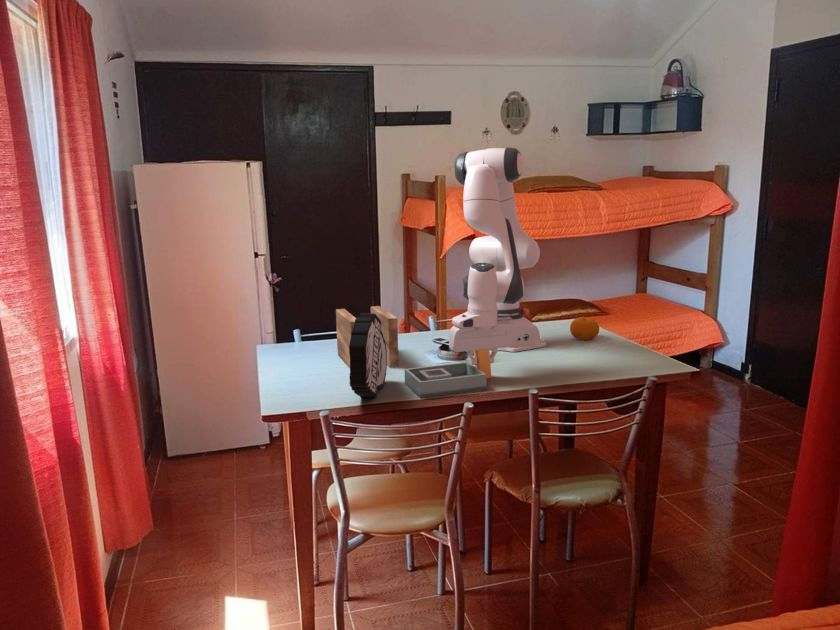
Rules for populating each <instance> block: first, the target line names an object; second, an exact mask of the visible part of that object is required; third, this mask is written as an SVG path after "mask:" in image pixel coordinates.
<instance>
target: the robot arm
mask: <svg viewBox="0 0 840 630" xmlns="http://www.w3.org/2000/svg"><path fill="white" fill-rule="evenodd" d="M453 165H454V166H453V172H454V177H455V179H456V180H457V182H458V183H459V184H460V185H463V196H462V197H463V198H462V199H463V200H462V202H463V204H462V208H463V209H462V210H463V217H464V220H465V222H466V224H467V225H468V226H469V227H471V228H472V229H473V230H475V231H477V232H479V233H481V234H485V236H484V235H483V236H479V237H476V238H474V239H473V240H472V241H471V243H470V245H469V248H468V249H469V251H468V253H469V254H468V255H469V258H470V260H471V262H472V263H473V264H471V265H470V267H469V270H468V273H467V274H466V275H465V276H464V278H463V279H462V283H463V294H462V296H463V298H464V299H466V300H467V301H468V305H467V311H465V312H463V313H461V314H458V315H456V316H454V317H452V318H451V323H452V325H453V326H452V327H451V328H450V329H449V336H448V347H449V350H451V351H452V352H454V353H462V352H466V354H467V355H468V358H469V359H470V364H471V365H473V366H475V365H477V359H476V358H474V350H483V349H489V350H490V351H491V353H490V364H494V363H495V357H496V355H497V353H498V351H505V352H511V353H517V352H522V351H527V350H532V349H539V348H544V347H547V342H546V340H544V339H542V338H541V334H540V330H539V328H538V327H537V326H536V324H534V323H532V322H531V321H530V320H529V319H527V318H526V317H525V316H524V315H529V313H530V309H528V308H526V307H524V308H523V307H521V305H520V300H521V299H522V298H523V297H524V293H525V283H524V279H523V277H522V275H521V274H522V273H521V270H523V269H530V268H533V267H535V265H537V263H538V262H539V259H540V257H541V256H540V255H541V249H540V247H539V244H538V242H537V241H536V240H535V239H533V238H532V237H531V236H530V235H529V234H527V232H526V230H524V228H523V226H522V224H521V223H520V220H519V217H518V212H517V206H516V205H517V204H516V199H515V188H514V183H513V182H515V181H517V180H519V178H520V177H521V176H522V172H523V169H524V160H523V157H522V153H521V152H520V151H519V150H518V149H517V148H515V147H510V146H509V147H492V148H491V147H489V148H485V149H478V150H473V151H465V152H461V153H459V154H458V155H457V156H456V158H455V159H454V164H453Z"/></svg>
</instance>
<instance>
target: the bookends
mask: <svg viewBox="0 0 840 630" xmlns="http://www.w3.org/2000/svg"><path fill="white" fill-rule="evenodd" d="M370 314H376V316H377V317H378V318H379V319H380V321H381V331H382V334H383V337H384V340H385V343H386V349H387V367H388V368H398V367H399V337H398V336H399V333H398V331H399V330H398V327H399V326H398V317H397V316H395V315H393V314H392V313H390V312H389V311H387V310H386V309H385V308H384V307H382V306H380V305H375V306H373V305H372V306H370ZM355 319H356V317H355V316H353V314H352V313H350V312H349V311H348V310H346V308H337V309H335V325H336V345H337V356H338V357H339V359H341V360H342V361H343V362H344V364H345V365H346V366H347V368H349V369H350V355H349V344H350V339H351V333H352V328H353V325H354V323H355Z"/></svg>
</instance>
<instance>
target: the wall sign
mask: <svg viewBox="0 0 840 630" xmlns="http://www.w3.org/2000/svg"><path fill="white" fill-rule="evenodd" d="M355 318H356V319H355V323H354V325H353V328H352V333H351V339H350V344H349V355H350V368H349V386H350V387H351V391H353V393H354V394H355V395H357V396H358V397H359V398H363V399H377V395H378V391H379V390H380V389H382V388H383V387H384V386H385V382H386V377H387V375H386V374H387V367H388V366H387V349H386V343H385V340H384V337H383V334H382V331H381V321H380V319H379V318H378V317H377V316H376V314H371V313H365V312H364V313H359V316H356V317H355Z"/></svg>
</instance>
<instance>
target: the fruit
mask: <svg viewBox="0 0 840 630" xmlns="http://www.w3.org/2000/svg"><path fill="white" fill-rule="evenodd" d="M569 332H570V333H571V335H572V337H574V338H575V339H577V340H582V341H590V340H593V339H595V338H596V337H597V336H598V334H599V333H600V326H599V324H598V322H597V321H596V320H595V319H594V318H592V317H589V316H579V317H576V318H575V319H573V320H572V322H571V323H570V327H569Z"/></svg>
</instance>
